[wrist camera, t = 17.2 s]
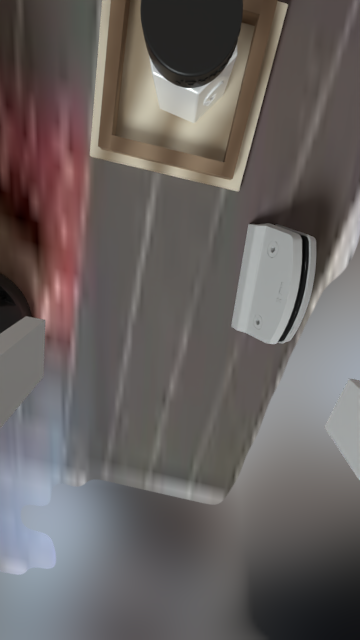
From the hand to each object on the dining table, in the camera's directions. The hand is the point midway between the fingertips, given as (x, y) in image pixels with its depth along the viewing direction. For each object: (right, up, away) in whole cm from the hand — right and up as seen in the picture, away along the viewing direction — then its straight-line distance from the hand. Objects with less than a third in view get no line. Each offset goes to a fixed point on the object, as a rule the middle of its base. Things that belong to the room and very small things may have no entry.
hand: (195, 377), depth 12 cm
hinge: (+12, +9, +31) cm, 34 cm away
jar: (0, +31, +21) cm, 37 cm away
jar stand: (-1, +31, +22) cm, 38 cm away
